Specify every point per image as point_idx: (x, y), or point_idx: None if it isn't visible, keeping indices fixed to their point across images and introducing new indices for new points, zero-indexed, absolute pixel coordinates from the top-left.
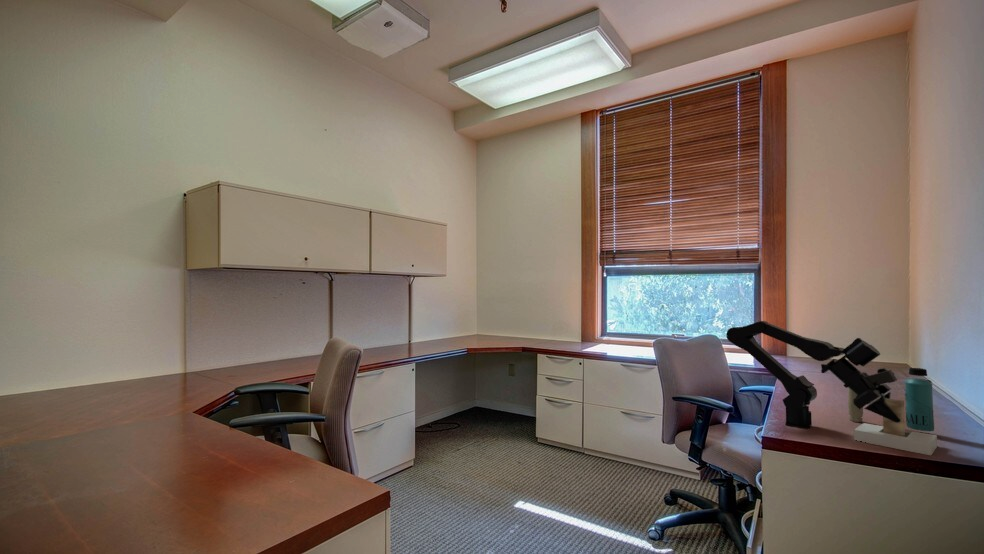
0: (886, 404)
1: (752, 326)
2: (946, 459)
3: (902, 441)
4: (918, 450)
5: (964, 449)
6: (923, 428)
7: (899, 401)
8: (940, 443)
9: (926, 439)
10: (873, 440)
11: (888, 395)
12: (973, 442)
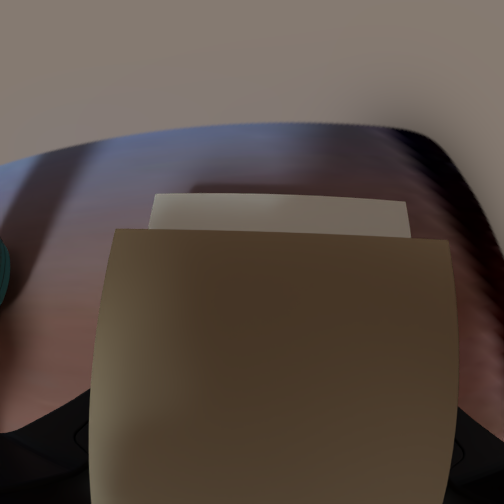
0: (456, 462)
1: None
2: (393, 186)
3: None
4: None
5: (152, 153)
6: (5, 263)
7: (331, 286)
8: (105, 218)
9: (316, 220)
10: None
11: (10, 496)
12: (39, 157)
